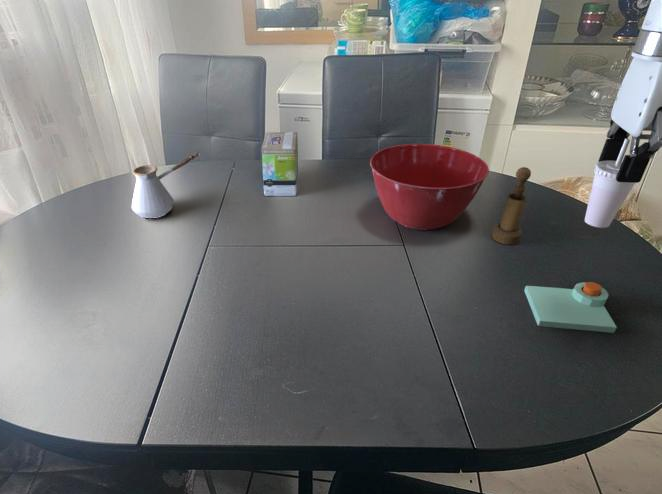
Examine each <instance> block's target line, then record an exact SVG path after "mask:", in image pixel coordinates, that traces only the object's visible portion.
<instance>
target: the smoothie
mask: <svg viewBox="0 0 662 494" xmlns="http://www.w3.org/2000/svg"><path fill="white" fill-rule="evenodd" d="M629 140H630V138H629V137H628V138H626V139H625V141H624V143H623V146H622V148H621V151H620V153H619V156H618V158H617V161H601V162H598V161H597V162H596V164H595V166H594V168H593V173H594V176H593V180H592V185H591V188H590V189H591V190H590V195H589V197H588V203H587V207H586V211H585V215H584V216H585V217H584V223H586V224H587V225H589V226H591V227H594V228H599V229H604V228H608V227H610V225H611V224H612V222H613V221H614V219H615V217H616V216H617V214H618V213H619V211H620V209H621V207H622V206H623V204H624V202H625V200H626V199H627V198H628V196H629V194H630V193H631V191H632V189H633V187H634V186H635V184H636V183H629V182H618V181H617V180H616V177H617V174H618V172H619V169H620V167H621V164H622V162H623V161H622V162H621V159H622V157H623V154H624V152H625V149H626V147H627V144H628V142H629ZM629 143H630V142H629ZM628 145H629V144H628ZM627 148H628V147H627ZM626 150H627V149H626ZM625 153H626V152H625ZM624 155H625V154H624ZM623 158H624V157H623ZM622 160H623V159H622Z"/></svg>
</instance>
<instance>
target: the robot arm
mask: <svg viewBox="0 0 662 494" xmlns="http://www.w3.org/2000/svg"><path fill="white" fill-rule="evenodd" d="M630 56H631V57H633V59H631V62H630V65H629V67H628V69H627V71H626V73H625V74H624V75H625V76H624V78H623V80H622V82H621V85H620V86H619V90H618V91H617V95H616V97H615V100H614V103H613V105H612V108H611V112H610V118H611V119H610V121H609V125H610V127H609V128H608V129H609V130H608V131H607V133H606V139H605V141H604V144H603V146H602V150H601V153H600V155H599V159H598V161H597V163H598V162H601V161H617V158H618V156H619V153H620V151H621V148H622V146H623V143H624V141H625V139H626V138H628V139H629V138H630V135H631V139H629V142H628V144H627V147H626V149H625V152H624V154H623V157H622V159H621V162H622V164H621V167H620V169H619V172H618V174H617V177H616V180H617V181H618V182H629V183H635V184H637V183H640V182H641V181H642V178H643V176H644V175H645V172H646V170H647V167H648V166H649V163H650V161H651V159H653V158H654V156H655V153H657V152H658V151H660V149H661V148H662V0H650V3H649V6H648V8H647V11H646V14H645V16H644V19H643V23H642V25H641V28H640V30H639V33H638V36H637V39H636V41H635V43H634V47H633V50H632V51H631V55H630ZM643 131H644V132H646V131H647V132H648V131H649V132H650V134H649V133H643ZM641 140H647V141H645V142H643V143H642V144H641V145H640V142H641ZM629 144H630V146H629ZM628 146H629V152H628V154H626V151H627V149H628Z"/></svg>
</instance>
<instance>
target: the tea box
mask: <svg viewBox="0 0 662 494" xmlns="http://www.w3.org/2000/svg"><path fill="white" fill-rule="evenodd" d="M298 141H299V140H298V132H297V131H284V132H283V131H280V132H274V131H271V132H265V135H264V139H263V143H262V146H261V162H262V182H263V196H264V197H296V196H297V192H298V181H299V150H298V149H299V148H298V147H299V145H298Z"/></svg>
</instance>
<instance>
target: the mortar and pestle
mask: <svg viewBox="0 0 662 494" xmlns="http://www.w3.org/2000/svg"><path fill="white" fill-rule="evenodd" d="M531 176H532V171H531V169H530V168H528V167H526V166H522V167H520V168H518V169H517V170H516V172H515V177H516V178H515V179H516V181H517V183H516V185H514V187H513V192H511V193H509V194H508V195H507V198H506V203H505V206H504V211H503V214H502V217H501V220H500V223H497V224H495V225H494V226H493V228H492V233H491V238H492V239H493V240H494V241H495V242H497V243H499V244H502V245H507V246H514V245H518V244H519V243H520V242H521V239H522V235H523V230H522V229H521V228H520V227H519V225H520V223H521V219H522V216H523V212H524V209H525V205H526V202H527V199H528V197H527V196H526V195H524V192H525V190H526V186H525V183H527V181H529V179H530V178H531Z"/></svg>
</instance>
